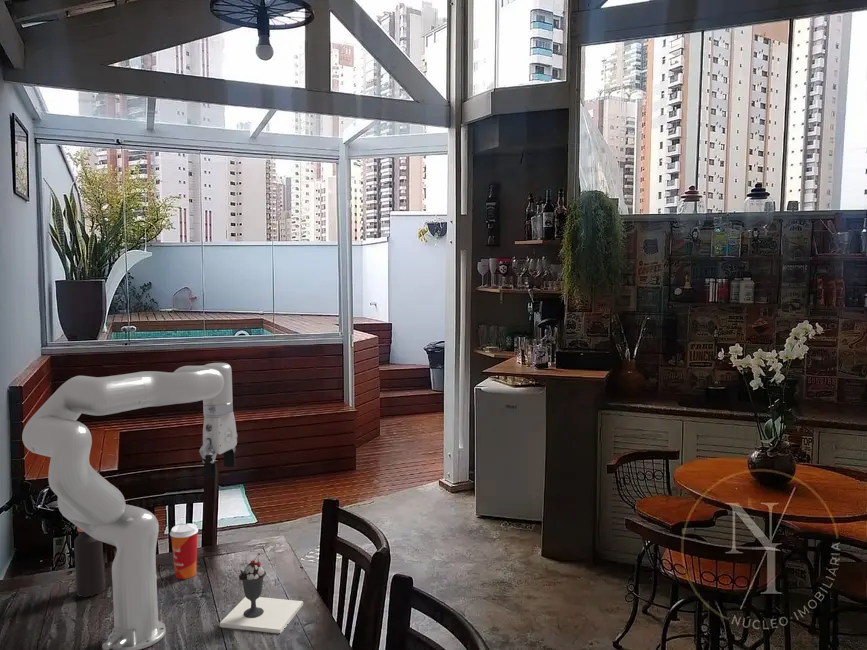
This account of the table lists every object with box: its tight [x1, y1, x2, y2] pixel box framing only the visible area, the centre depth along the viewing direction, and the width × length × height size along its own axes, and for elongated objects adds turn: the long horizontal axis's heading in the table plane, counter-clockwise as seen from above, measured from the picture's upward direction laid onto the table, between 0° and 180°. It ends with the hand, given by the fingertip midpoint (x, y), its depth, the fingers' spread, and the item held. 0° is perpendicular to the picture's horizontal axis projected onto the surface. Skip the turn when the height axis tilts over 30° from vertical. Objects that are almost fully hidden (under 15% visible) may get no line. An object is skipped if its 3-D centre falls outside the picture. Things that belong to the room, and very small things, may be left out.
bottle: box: [73, 526, 105, 597], centre depth 181 cm, size 7×7×20 cm
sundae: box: [238, 553, 267, 618], centre depth 167 cm, size 7×7×15 cm
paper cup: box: [169, 523, 199, 580], centre depth 191 cm, size 8×8×14 cm
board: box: [219, 596, 304, 634], centre depth 168 cm, size 14×16×1 cm
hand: (220, 471), depth 179 cm, fingers open, 9 cm apart
